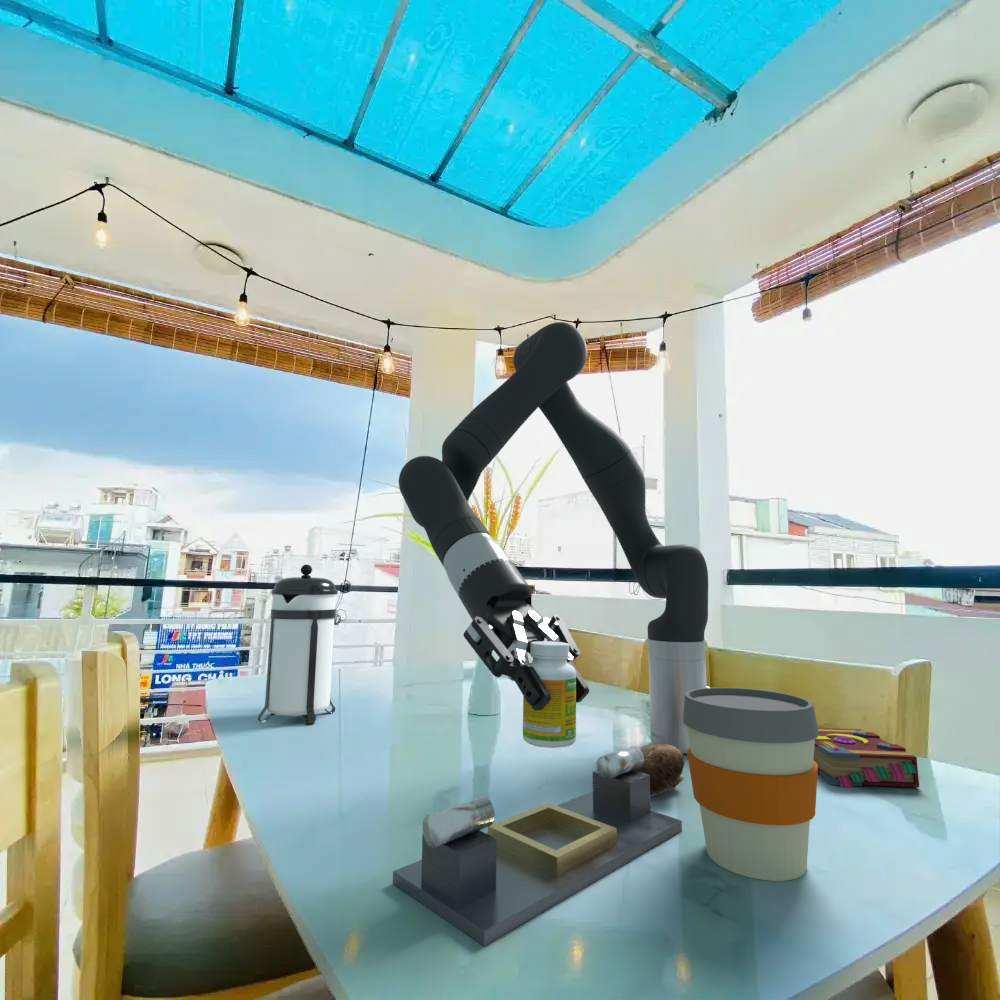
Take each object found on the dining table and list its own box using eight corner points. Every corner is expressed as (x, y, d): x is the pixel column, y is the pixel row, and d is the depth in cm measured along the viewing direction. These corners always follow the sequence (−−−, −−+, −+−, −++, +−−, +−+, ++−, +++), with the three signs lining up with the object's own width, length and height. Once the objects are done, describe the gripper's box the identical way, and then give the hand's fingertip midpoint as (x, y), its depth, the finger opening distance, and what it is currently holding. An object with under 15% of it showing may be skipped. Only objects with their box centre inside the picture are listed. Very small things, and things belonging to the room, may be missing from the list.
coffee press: (352, 719, 110) (360, 564, 114) (266, 730, 101) (277, 562, 105) (325, 703, 124) (332, 566, 129) (247, 712, 115) (257, 564, 120)
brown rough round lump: (699, 760, 75) (672, 722, 75) (701, 804, 68) (671, 762, 68) (648, 780, 79) (622, 744, 78) (644, 824, 71) (615, 785, 71)
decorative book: (864, 757, 89) (861, 724, 90) (928, 795, 73) (924, 754, 74) (788, 754, 90) (786, 722, 91) (835, 790, 75) (832, 750, 75)
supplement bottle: (574, 751, 54) (574, 646, 55) (518, 746, 55) (520, 644, 56) (577, 736, 59) (577, 641, 61) (526, 732, 60) (528, 639, 62)
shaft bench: (594, 798, 70) (593, 736, 71) (684, 829, 62) (681, 757, 63) (387, 885, 50) (391, 795, 51) (479, 949, 41) (480, 839, 42)
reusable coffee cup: (855, 867, 53) (842, 702, 56) (779, 907, 47) (768, 717, 49) (737, 820, 64) (730, 683, 66) (661, 847, 57) (656, 693, 59)
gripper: (453, 553, 60) (535, 685, 50) (543, 559, 70) (627, 670, 60) (422, 602, 63) (493, 736, 53) (512, 601, 73) (586, 714, 63)
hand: (563, 700), depth 56 cm, fingers closed on supplement bottle, 5 cm apart
